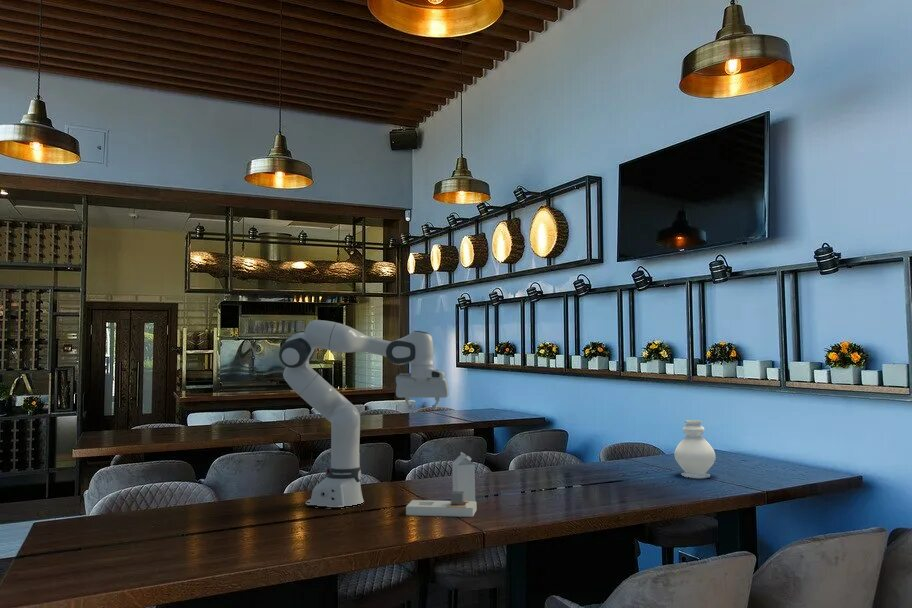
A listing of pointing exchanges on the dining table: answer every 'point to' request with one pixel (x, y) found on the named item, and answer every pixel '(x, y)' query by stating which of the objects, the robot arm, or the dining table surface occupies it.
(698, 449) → the decorative vase
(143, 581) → the dining table surface
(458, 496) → the dark gray block
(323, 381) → the robot arm
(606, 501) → the dining table surface
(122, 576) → the dining table surface
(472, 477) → the milk carton
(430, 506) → the socket rail
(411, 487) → the dining table surface
